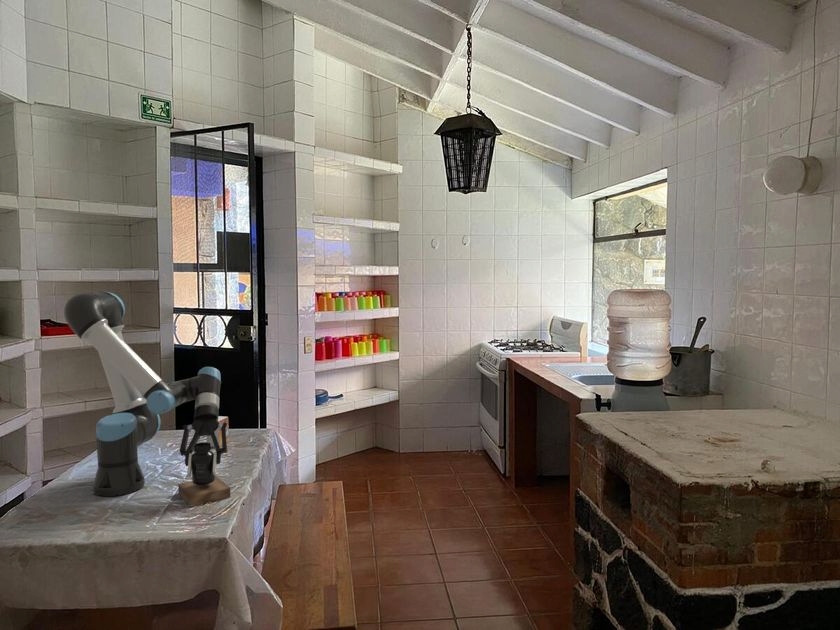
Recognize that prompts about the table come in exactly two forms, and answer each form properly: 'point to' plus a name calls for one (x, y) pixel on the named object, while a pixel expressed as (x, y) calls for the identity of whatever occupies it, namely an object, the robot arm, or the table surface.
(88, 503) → the table surface
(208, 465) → the supplement bottle
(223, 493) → the brown flat block
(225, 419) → the small box
